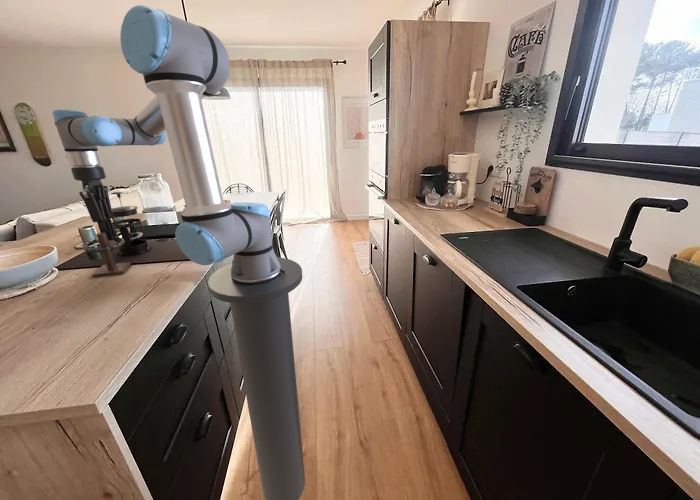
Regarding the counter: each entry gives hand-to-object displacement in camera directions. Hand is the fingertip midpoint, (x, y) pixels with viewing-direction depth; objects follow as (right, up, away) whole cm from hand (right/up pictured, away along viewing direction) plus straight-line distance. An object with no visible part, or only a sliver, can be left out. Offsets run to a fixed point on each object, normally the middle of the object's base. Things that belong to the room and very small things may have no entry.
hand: (110, 239), depth 96 cm
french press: (-3, -4, +16) cm, 17 cm away
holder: (+2, -11, -1) cm, 11 cm away
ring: (+1, -2, -4) cm, 4 cm away
